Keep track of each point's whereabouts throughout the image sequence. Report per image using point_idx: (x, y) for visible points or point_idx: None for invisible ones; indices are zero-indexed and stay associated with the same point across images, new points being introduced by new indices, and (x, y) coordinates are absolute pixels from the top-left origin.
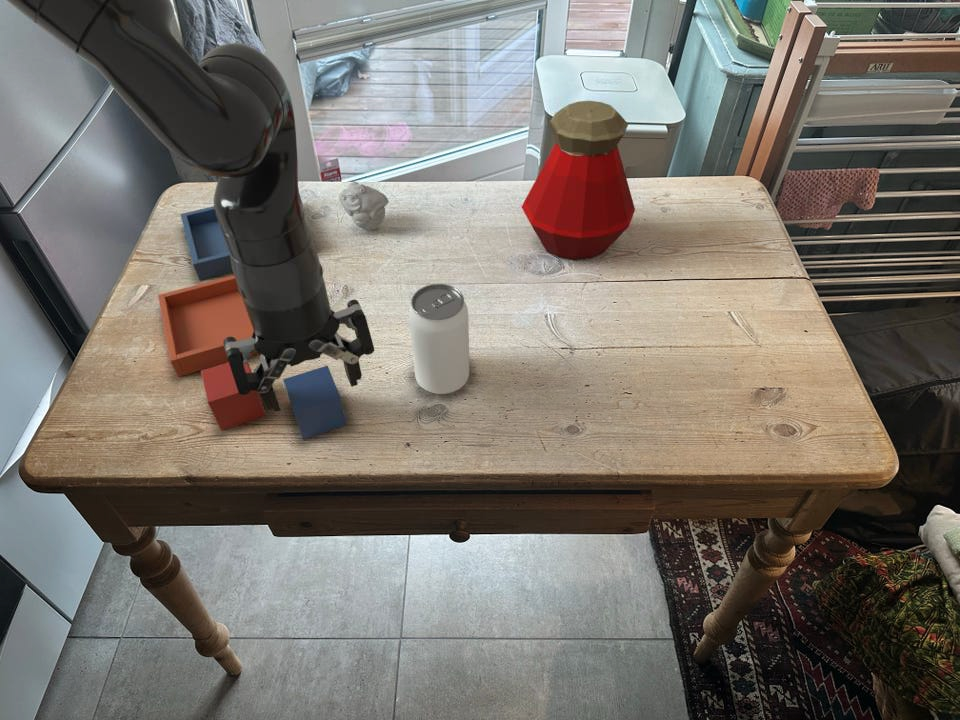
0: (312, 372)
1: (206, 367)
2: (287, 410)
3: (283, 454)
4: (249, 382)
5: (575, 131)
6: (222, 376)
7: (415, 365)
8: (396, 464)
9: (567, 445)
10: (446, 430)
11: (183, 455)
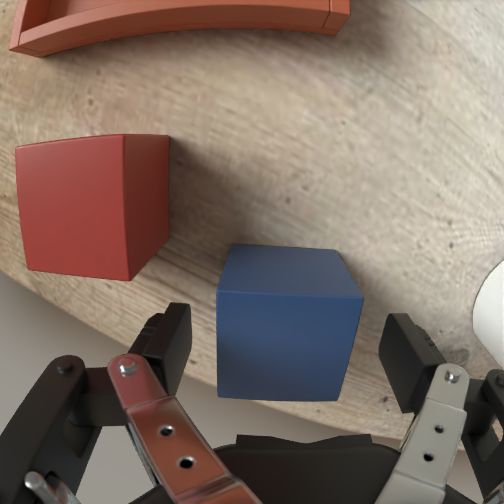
0: (312, 306)
1: (84, 44)
2: (219, 244)
3: None
4: (96, 424)
5: None
6: (54, 195)
7: (500, 332)
8: (350, 420)
9: (497, 429)
10: None
11: None
